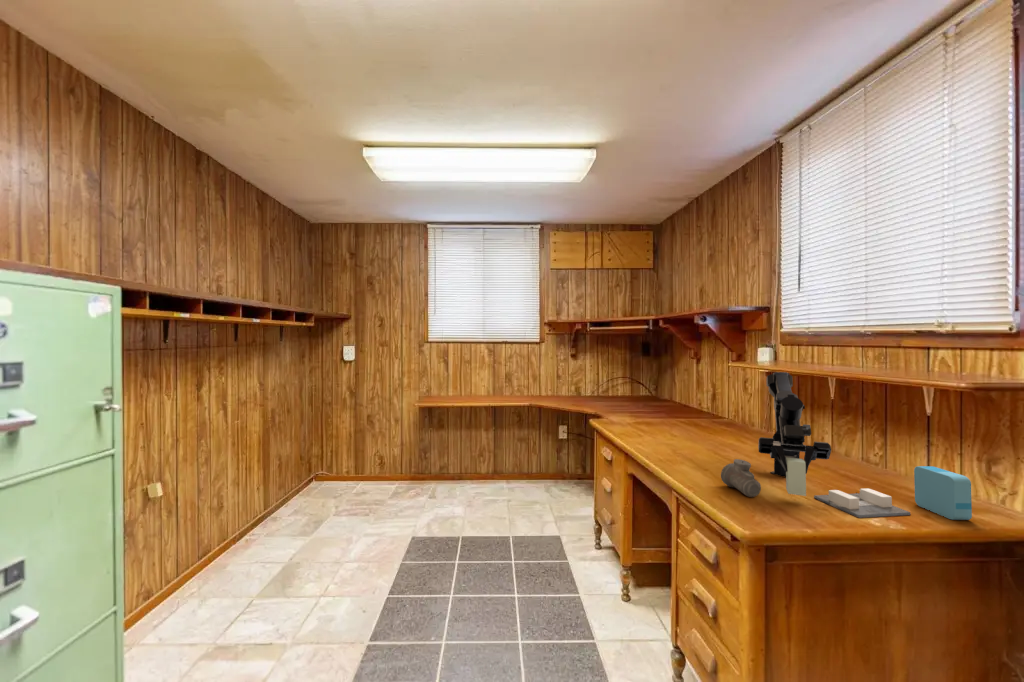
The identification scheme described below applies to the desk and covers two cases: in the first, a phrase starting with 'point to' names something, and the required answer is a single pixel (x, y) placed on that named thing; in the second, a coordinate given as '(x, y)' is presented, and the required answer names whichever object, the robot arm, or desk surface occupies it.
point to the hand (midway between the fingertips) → (796, 472)
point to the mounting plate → (865, 508)
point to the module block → (796, 476)
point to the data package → (943, 492)
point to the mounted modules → (865, 494)
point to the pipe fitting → (741, 478)
